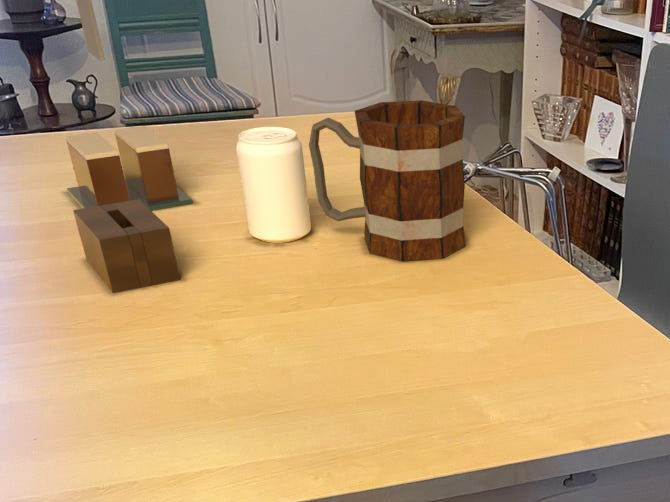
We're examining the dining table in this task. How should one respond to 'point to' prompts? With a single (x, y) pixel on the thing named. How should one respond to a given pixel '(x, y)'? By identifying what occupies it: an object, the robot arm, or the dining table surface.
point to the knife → (90, 28)
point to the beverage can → (273, 184)
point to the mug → (404, 178)
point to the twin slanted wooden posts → (138, 165)
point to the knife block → (127, 245)
